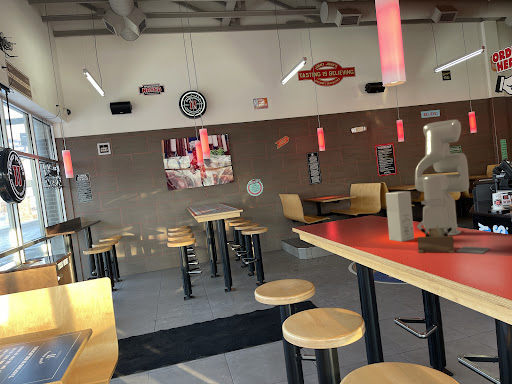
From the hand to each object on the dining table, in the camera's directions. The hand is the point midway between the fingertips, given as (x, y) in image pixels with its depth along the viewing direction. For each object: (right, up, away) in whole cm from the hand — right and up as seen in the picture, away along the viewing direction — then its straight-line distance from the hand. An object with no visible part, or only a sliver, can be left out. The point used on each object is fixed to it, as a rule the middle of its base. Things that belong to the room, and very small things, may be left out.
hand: (437, 242), depth 171 cm
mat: (+10, -2, -10) cm, 15 cm away
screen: (-3, -3, -6) cm, 8 cm away
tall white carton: (-5, -3, +28) cm, 28 cm away
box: (0, -3, 0) cm, 3 cm away
